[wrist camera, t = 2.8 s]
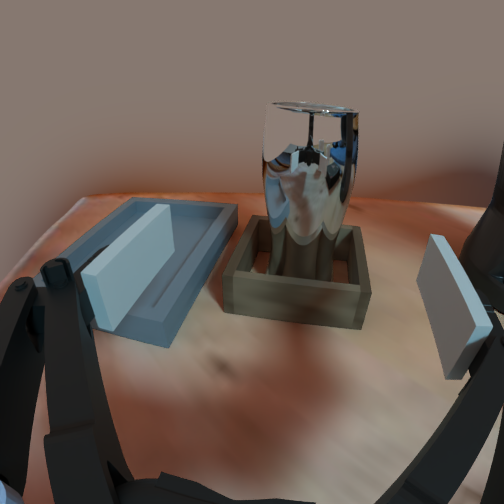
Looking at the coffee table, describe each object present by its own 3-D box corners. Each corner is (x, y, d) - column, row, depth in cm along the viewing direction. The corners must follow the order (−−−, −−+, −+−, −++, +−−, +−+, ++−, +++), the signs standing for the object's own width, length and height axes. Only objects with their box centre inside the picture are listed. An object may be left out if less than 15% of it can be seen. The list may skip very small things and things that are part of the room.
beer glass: (337, 265, 31) (357, 106, 23) (337, 312, 25) (368, 115, 17) (266, 257, 32) (271, 99, 24) (251, 301, 26) (254, 105, 19)
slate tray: (237, 224, 38) (237, 204, 37) (168, 348, 21) (162, 322, 20) (134, 214, 41) (132, 197, 39) (34, 308, 24) (24, 286, 23)
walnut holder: (354, 257, 32) (360, 226, 30) (361, 329, 23) (371, 293, 21) (252, 245, 34) (252, 215, 32) (223, 312, 25) (221, 274, 23)
